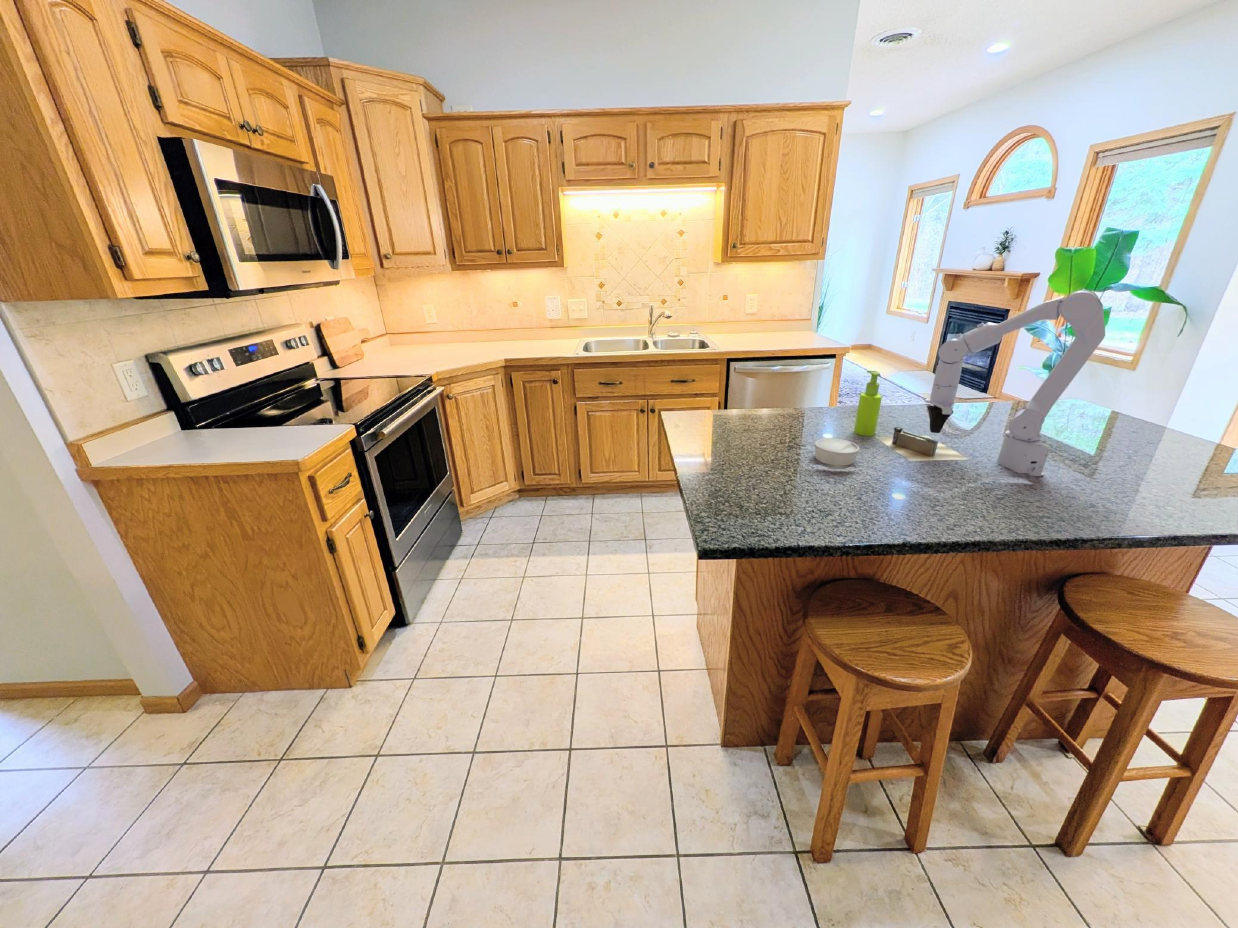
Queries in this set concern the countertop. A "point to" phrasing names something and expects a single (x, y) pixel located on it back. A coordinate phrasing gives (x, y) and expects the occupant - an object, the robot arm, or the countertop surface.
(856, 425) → the soap dispenser
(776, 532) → the countertop surface
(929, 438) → the slate bar
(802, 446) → the countertop surface
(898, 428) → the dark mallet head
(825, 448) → the ramekin
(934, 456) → the maple board
